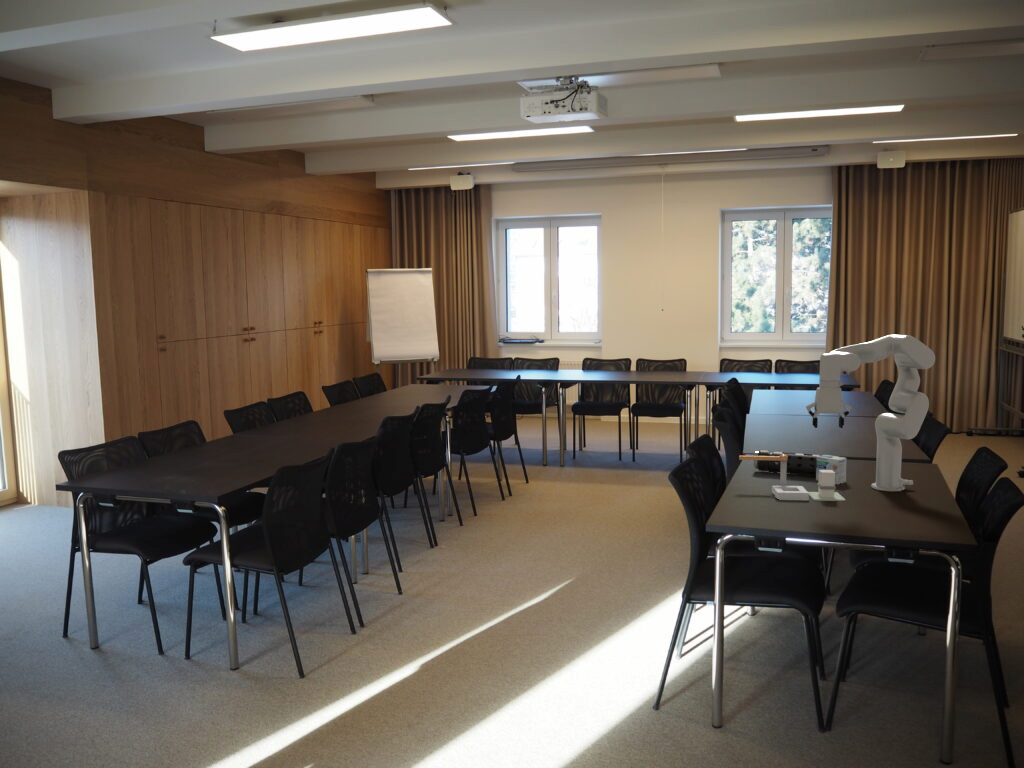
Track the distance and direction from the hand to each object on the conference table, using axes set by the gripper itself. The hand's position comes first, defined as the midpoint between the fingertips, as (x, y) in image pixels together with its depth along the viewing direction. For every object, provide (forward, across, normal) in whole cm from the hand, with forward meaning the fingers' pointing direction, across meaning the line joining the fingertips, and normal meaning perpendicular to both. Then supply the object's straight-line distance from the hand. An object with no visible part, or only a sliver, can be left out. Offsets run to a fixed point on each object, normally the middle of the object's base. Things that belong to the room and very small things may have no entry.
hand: (828, 427), depth 338 cm
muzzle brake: (+29, +7, -42) cm, 51 cm away
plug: (+28, 0, 0) cm, 28 cm away
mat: (+28, 0, 0) cm, 28 cm away
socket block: (+28, +14, -5) cm, 32 cm away
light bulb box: (+29, -9, -29) cm, 42 cm away
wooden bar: (+16, +22, -14) cm, 31 cm away
